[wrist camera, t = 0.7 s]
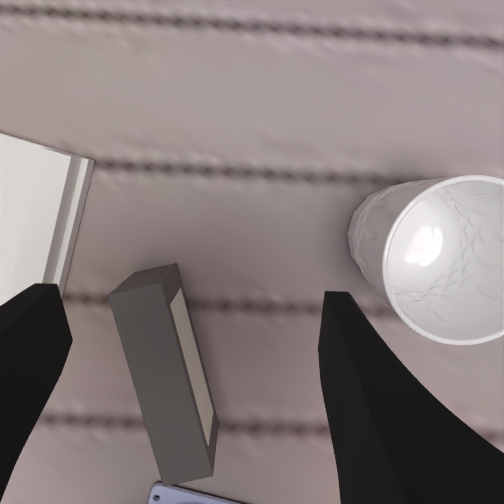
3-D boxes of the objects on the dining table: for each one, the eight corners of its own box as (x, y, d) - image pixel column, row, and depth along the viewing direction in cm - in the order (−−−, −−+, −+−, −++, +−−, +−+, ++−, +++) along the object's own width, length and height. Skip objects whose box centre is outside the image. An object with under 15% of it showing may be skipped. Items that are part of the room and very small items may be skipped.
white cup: (314, 224, 30) (348, 247, 20) (411, 151, 29) (495, 137, 20) (382, 314, 31) (445, 377, 21) (477, 245, 31) (588, 277, 21)
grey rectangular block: (219, 421, 33) (213, 475, 27) (177, 430, 33) (162, 487, 27) (177, 262, 31) (161, 282, 25) (133, 272, 31) (107, 295, 25)
